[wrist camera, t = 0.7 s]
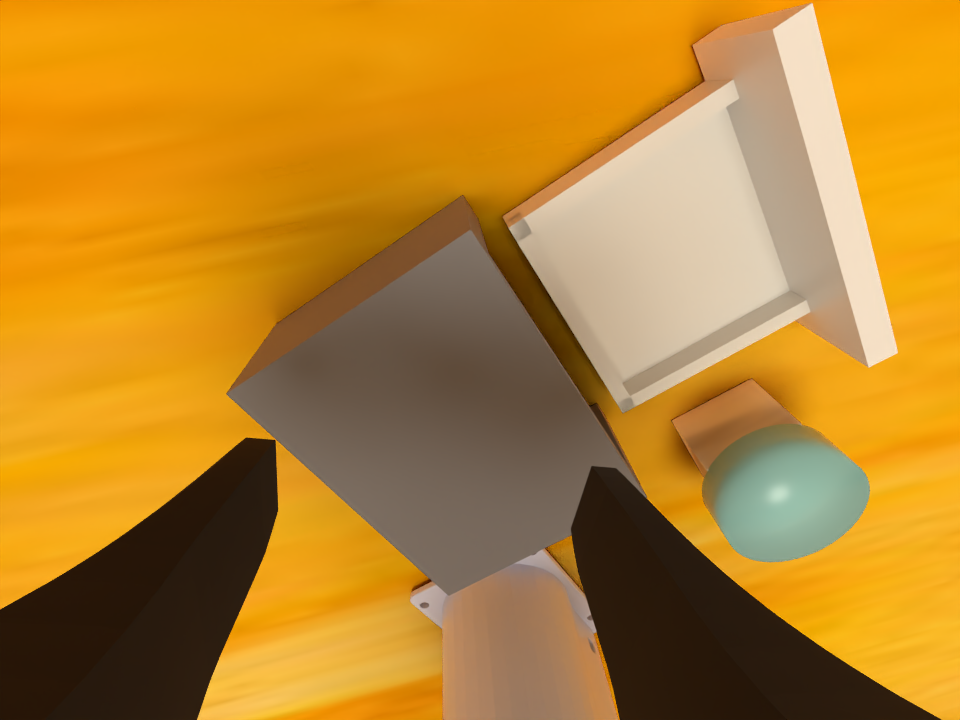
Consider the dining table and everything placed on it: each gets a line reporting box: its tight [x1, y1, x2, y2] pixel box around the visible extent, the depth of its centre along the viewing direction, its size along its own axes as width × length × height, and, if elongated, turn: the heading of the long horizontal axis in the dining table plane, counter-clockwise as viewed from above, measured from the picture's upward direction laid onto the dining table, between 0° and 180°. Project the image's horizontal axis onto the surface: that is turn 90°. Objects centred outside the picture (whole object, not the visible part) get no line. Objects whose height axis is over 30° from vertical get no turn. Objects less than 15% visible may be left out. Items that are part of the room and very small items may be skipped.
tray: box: [502, 3, 898, 413], centre depth 17 cm, size 12×9×4 cm
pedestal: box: [672, 379, 801, 477], centre depth 22 cm, size 4×4×4 cm
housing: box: [226, 195, 647, 596], centre depth 19 cm, size 12×9×5 cm
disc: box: [702, 424, 870, 562], centre depth 20 cm, size 6×6×2 cm
